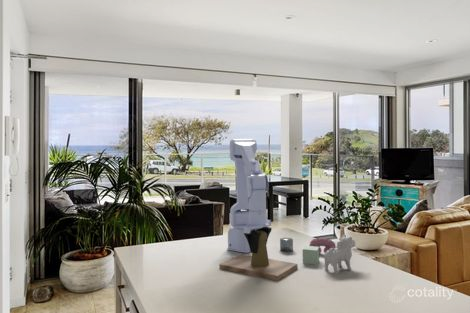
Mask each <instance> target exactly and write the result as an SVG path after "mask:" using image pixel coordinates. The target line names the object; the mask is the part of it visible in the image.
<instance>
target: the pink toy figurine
mask: <svg viewBox="0 0 470 313" xmlns="http://www.w3.org/2000/svg"><path fill="white" fill-rule="evenodd" d="M308 246H316V247H319V254H321V253H322V248H321V247H324V248H323V253H324V254H325V253H326V251H328V250H329V249H331V248H336V246H337V244H336V242H334V241H333V240H332V239H329V238H327V237H317V238H313V239H312V240H310V242H309V245H308Z"/></svg>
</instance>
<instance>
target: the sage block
mask: <svg viewBox="0 0 470 313" xmlns="http://www.w3.org/2000/svg"><path fill="white" fill-rule="evenodd" d="M319 262H320V253H319V247H316V246H309V245H304V246H303V248H302V264H304V265H305V264H306V265H314V266H315V265H318V264H319Z"/></svg>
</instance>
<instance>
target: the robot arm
mask: <svg viewBox="0 0 470 313" xmlns="http://www.w3.org/2000/svg"><path fill="white" fill-rule="evenodd" d="M257 149H258V147H257V140H256V139H255V138H235V139H234V138H231V139H230V140H229V157H230V161H233V162H234V165H235V181H236V184H235V185H236V203H234V204H233V205H231V207H230V210H229V212H230V214H229V222H230V223H229V224H230V227H229V228H228V231H227V247H226V250H227V251H233V252H238V253H239V252H240V253H244V254H247V253H249V252H250V253H251V254H252V253H257V251H258V242H259V238H260V235H261V233H258V232H257V231H264V232H266V234H267V240H266V245H267V244H268V240H269V237H270V234H271V232H272V229H273V228H272V227H270V226H272V220H271V219H267V191H268V190H269V179H268V175H267V173H265V172H263V170H262V168H261V164H260V163H259V161H258V160H256V159H255V158H256V157H255V156H256V153H257Z"/></svg>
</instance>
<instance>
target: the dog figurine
mask: <svg viewBox="0 0 470 313" xmlns="http://www.w3.org/2000/svg"><path fill="white" fill-rule="evenodd" d="M355 246H356V242H355V240H354V239H353V237H352V236H348V237H347V234H343V235H342V237H341V238H340V240H338V241H337V242H336V248H331V249H329V250H328V251H326V253H324V254H323V259H324V270H325V271H326V272H327V271H329V266H332V267H333V274H339V271H338V267H340V268H341V267H343V264H342V262H343V261H344V264H345V266H346V267H347V268H346V269H347V270H349V269H351V270H352V267H351V259H352V256H353V253H352V248H355Z"/></svg>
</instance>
